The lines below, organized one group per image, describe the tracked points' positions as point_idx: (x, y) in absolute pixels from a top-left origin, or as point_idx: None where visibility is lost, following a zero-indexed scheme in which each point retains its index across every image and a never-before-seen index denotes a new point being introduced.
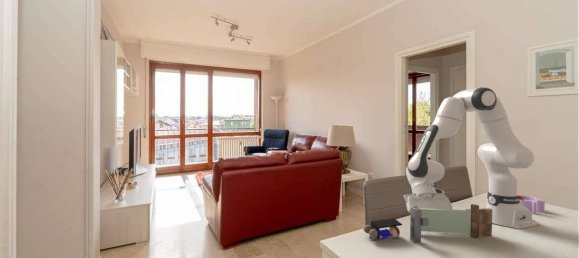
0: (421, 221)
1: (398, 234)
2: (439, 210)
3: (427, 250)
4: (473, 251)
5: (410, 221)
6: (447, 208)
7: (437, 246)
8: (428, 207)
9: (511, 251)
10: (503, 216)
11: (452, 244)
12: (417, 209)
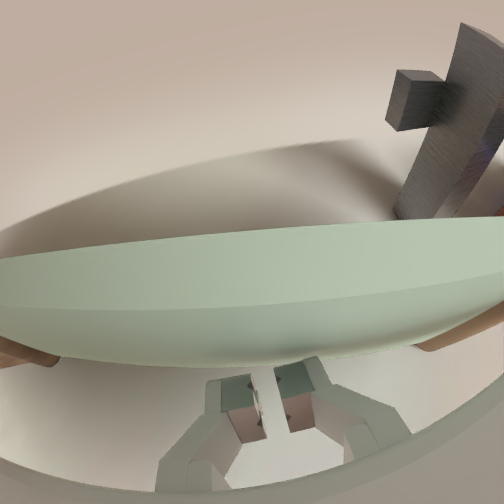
0: (436, 102)
1: (495, 215)
2: (191, 242)
3: (364, 150)
4: (152, 180)
5: (495, 151)
6: (8, 474)
7: (312, 187)
8: (384, 498)
9: (28, 223)
10: None
11: (215, 225)
12: (486, 34)
